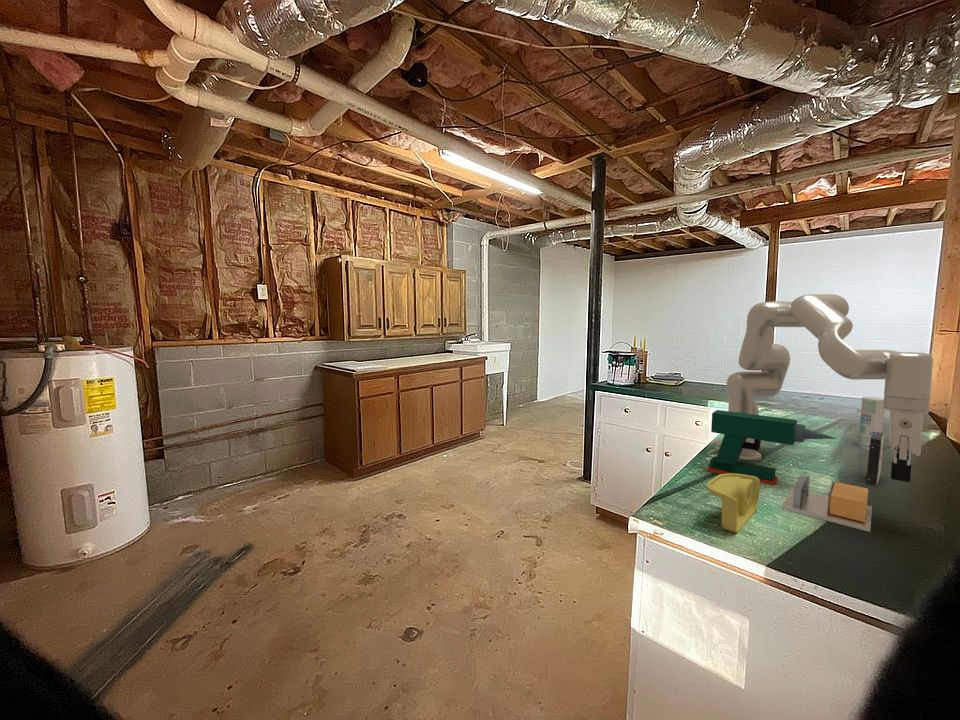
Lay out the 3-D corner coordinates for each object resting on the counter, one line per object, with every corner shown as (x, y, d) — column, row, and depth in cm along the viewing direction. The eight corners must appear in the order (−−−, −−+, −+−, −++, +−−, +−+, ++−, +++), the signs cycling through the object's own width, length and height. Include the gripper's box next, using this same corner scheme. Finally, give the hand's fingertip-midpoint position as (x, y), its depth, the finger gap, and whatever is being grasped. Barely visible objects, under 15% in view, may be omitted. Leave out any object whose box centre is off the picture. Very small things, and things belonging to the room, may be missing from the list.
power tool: (834, 491, 120) (839, 425, 118) (832, 499, 115) (838, 429, 113) (712, 465, 141) (715, 409, 140) (707, 471, 136) (710, 412, 134)
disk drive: (878, 486, 123) (882, 439, 122) (865, 484, 125) (869, 437, 124) (880, 477, 130) (884, 432, 129) (868, 475, 132) (872, 430, 131)
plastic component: (735, 536, 95) (737, 495, 94) (701, 525, 100) (703, 486, 99) (758, 509, 108) (760, 473, 107) (726, 501, 114) (728, 466, 113)
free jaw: (827, 512, 103) (828, 494, 103) (831, 498, 112) (833, 481, 111) (865, 522, 98) (866, 503, 98) (866, 506, 107) (868, 488, 106)
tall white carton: (885, 450, 157) (890, 399, 155) (868, 450, 157) (873, 399, 155) (869, 445, 164) (874, 396, 162) (853, 445, 164) (857, 396, 162)
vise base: (781, 509, 108) (783, 487, 108) (791, 491, 119) (793, 471, 119) (870, 532, 96) (872, 507, 96) (871, 510, 108) (873, 487, 107)
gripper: (932, 411, 88) (925, 493, 90) (927, 402, 99) (921, 475, 100) (883, 406, 93) (877, 484, 95) (883, 398, 104) (878, 468, 105)
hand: (900, 479), depth 97 cm, fingers closed
